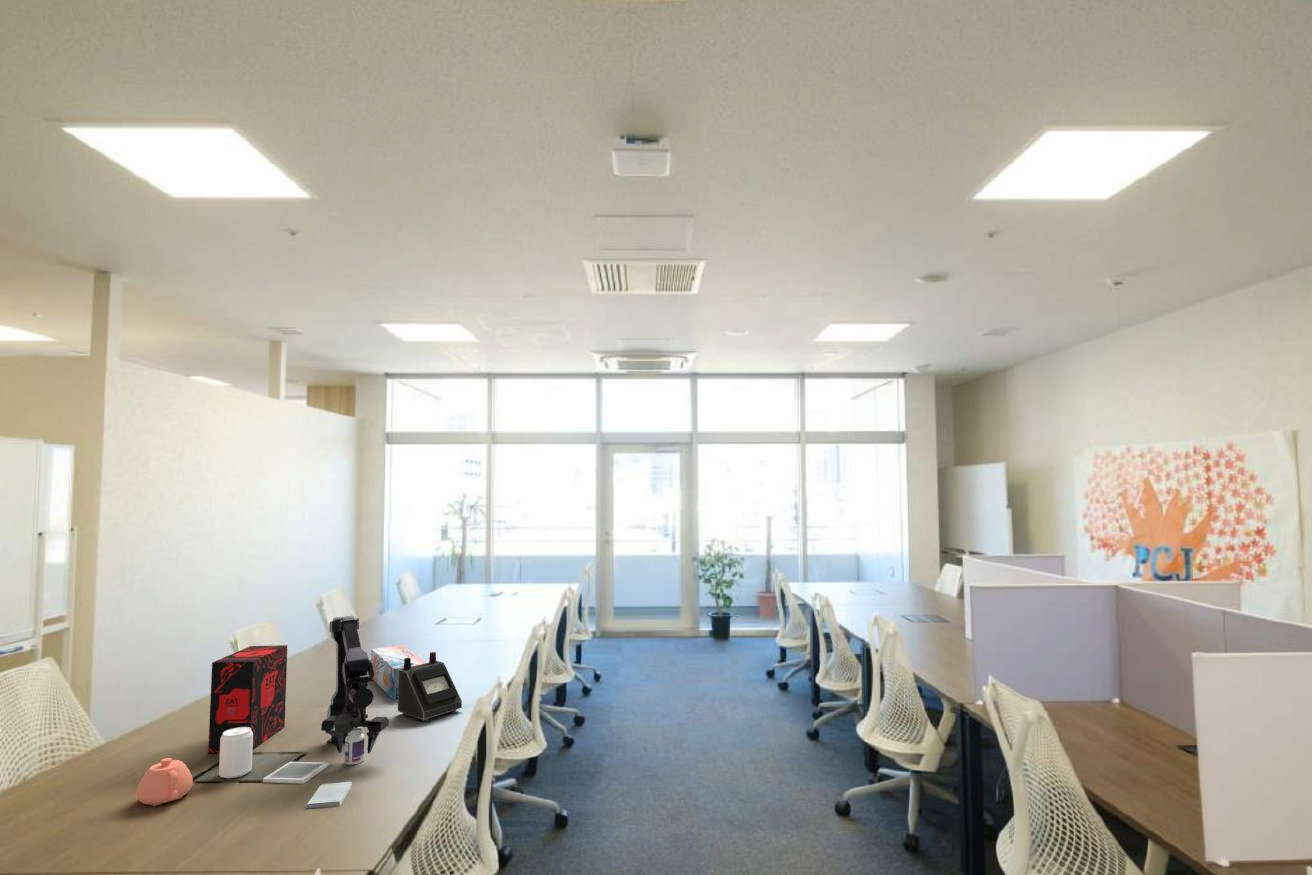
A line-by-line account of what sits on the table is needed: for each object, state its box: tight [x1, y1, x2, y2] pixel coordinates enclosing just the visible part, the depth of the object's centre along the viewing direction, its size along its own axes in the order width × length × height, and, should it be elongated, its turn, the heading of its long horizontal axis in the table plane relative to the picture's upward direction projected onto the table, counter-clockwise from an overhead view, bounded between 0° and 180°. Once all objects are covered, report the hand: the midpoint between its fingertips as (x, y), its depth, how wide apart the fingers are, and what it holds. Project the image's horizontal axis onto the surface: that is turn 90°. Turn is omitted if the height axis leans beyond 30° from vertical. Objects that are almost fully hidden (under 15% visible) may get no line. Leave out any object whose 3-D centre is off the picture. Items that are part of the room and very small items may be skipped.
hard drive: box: [305, 781, 353, 809], centre depth 181 cm, size 2×8×12 cm
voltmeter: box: [397, 651, 463, 723], centre depth 250 cm, size 16×16×20 cm
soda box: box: [370, 645, 426, 701], centre depth 286 cm, size 41×14×13 cm, turn 35°
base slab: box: [262, 761, 329, 785], centre depth 196 cm, size 12×12×1 cm
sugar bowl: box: [135, 757, 194, 807], centre depth 181 cm, size 12×14×10 cm
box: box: [207, 644, 288, 755], centre depth 225 cm, size 23×12×28 cm, turn 4°
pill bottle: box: [344, 727, 366, 766], centre depth 205 cm, size 5×5×10 cm
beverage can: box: [218, 727, 253, 779], centre depth 197 cm, size 8×8×12 cm
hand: (354, 752), depth 205 cm, fingers open, 9 cm apart
